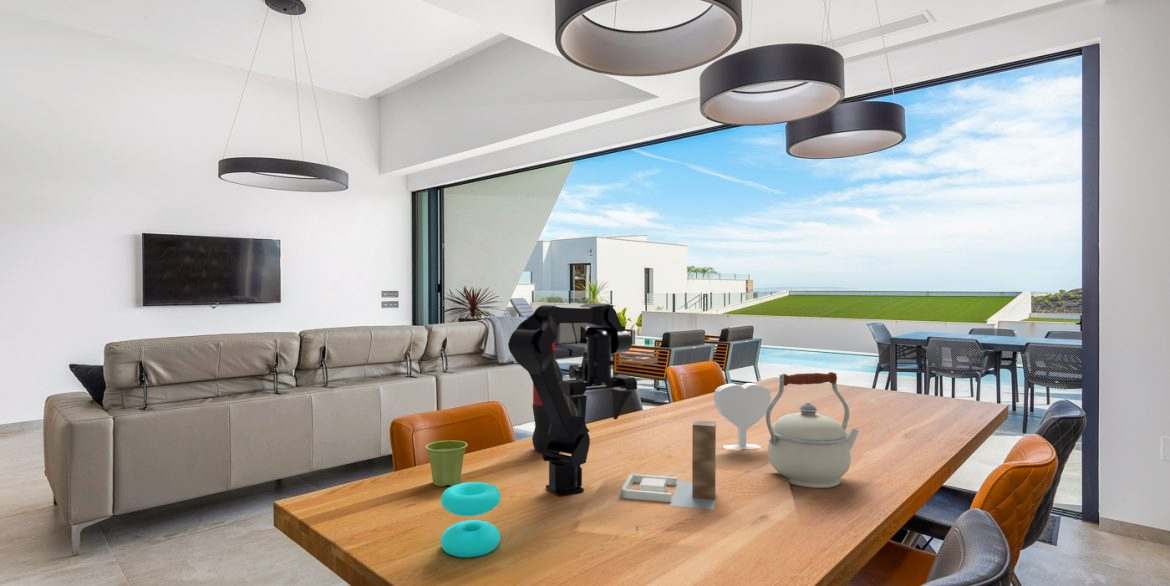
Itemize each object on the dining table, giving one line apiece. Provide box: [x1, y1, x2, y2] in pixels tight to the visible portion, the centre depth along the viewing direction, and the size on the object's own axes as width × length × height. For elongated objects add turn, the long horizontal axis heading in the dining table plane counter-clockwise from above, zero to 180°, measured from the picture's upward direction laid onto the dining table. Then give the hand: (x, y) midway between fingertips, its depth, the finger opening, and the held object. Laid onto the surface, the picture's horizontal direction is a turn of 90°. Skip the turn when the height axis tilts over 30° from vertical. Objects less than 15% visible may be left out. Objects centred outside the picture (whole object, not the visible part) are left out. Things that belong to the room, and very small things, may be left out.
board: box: [669, 480, 717, 511], centre depth 124 cm, size 8×16×2 cm, turn 165°
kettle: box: [765, 371, 860, 489], centre depth 140 cm, size 25×18×25 cm
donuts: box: [440, 481, 502, 558], centre depth 101 cm, size 10×10×10 cm
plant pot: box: [425, 440, 468, 487], centre depth 136 cm, size 9×9×9 cm
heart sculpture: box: [713, 382, 772, 449], centre depth 168 cm, size 16×5×18 cm, turn 99°
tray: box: [620, 473, 678, 503], centre depth 126 cm, size 10×12×3 cm
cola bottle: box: [531, 342, 564, 453], centre depth 165 cm, size 8×8×30 cm
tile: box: [639, 478, 667, 493], centre depth 126 cm, size 5×5×3 cm
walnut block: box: [691, 419, 717, 500], centre depth 124 cm, size 4×4×15 cm
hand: (599, 421), depth 142 cm, fingers open, 9 cm apart
